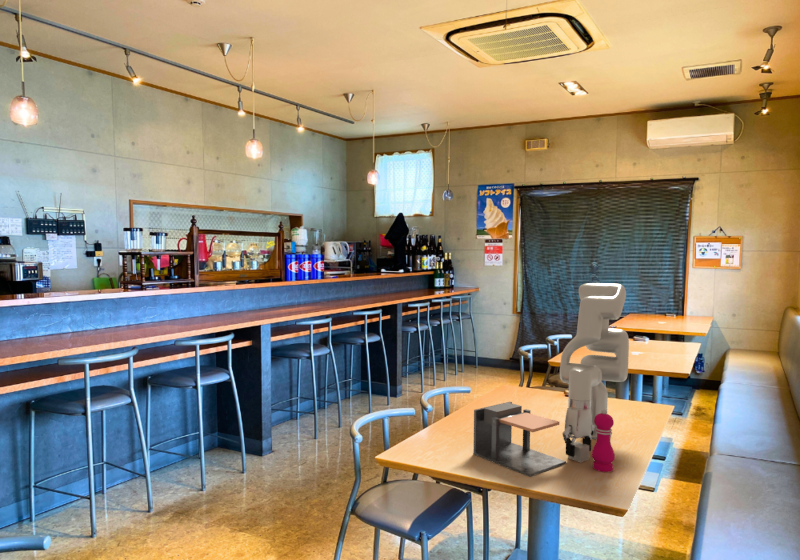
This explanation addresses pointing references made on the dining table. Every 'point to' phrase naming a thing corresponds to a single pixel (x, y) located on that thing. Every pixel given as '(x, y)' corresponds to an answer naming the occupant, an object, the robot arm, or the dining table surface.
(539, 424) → the trapdoor
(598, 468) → the pepper mill
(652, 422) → the dining table surface
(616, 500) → the dining table surface
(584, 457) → the light grey cube
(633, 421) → the dining table surface
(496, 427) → the frame
